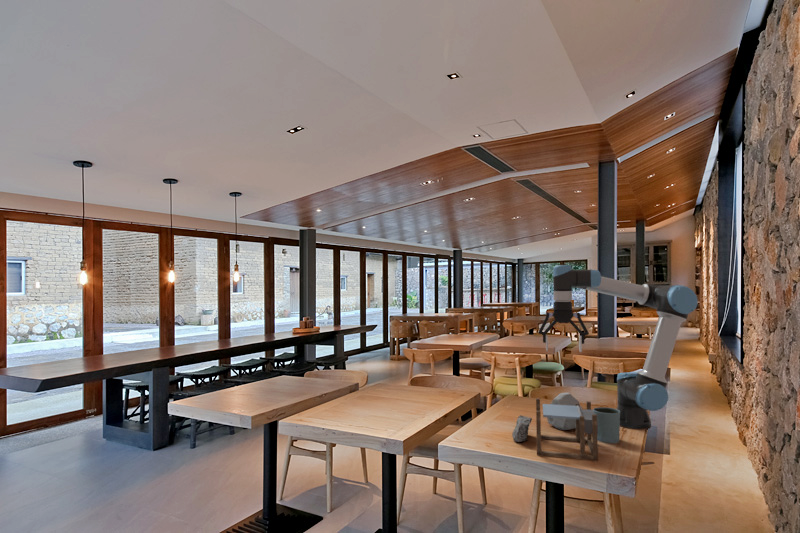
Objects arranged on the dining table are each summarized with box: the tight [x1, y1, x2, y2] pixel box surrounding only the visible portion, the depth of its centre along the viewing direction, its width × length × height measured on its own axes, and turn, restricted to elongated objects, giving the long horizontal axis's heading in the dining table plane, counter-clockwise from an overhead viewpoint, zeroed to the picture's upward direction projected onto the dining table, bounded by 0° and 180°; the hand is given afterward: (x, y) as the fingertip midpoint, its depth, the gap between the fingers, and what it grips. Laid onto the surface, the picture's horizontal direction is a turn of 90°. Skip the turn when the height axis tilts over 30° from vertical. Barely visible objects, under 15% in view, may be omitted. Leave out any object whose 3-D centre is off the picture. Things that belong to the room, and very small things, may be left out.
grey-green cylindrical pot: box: [592, 406, 621, 444], centre depth 193 cm, size 10×10×12 cm
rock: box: [511, 415, 533, 443], centre depth 195 cm, size 16×8×10 cm, turn 151°
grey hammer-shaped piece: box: [542, 403, 598, 435], centre depth 183 cm, size 19×17×6 cm
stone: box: [546, 392, 583, 431], centre depth 210 cm, size 12×12×15 cm
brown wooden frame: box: [535, 397, 599, 461], centre depth 184 cm, size 21×21×16 cm
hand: (563, 351), depth 203 cm, fingers open, 13 cm apart
